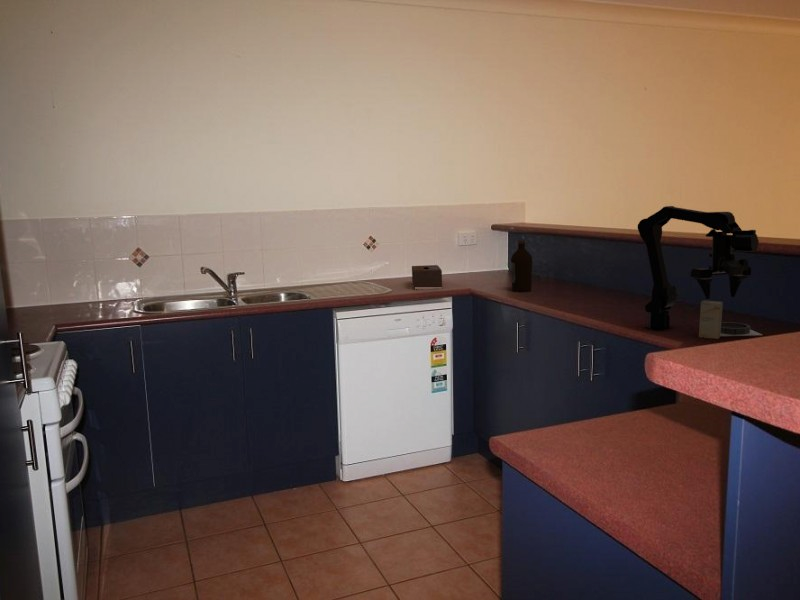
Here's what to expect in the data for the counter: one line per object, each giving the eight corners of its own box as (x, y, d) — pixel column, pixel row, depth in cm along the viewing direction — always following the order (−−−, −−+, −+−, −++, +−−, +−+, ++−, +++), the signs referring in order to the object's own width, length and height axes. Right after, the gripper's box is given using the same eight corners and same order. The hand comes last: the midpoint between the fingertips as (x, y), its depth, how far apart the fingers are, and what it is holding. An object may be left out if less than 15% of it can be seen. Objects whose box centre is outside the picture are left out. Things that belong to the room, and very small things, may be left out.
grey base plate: (720, 337, 220) (720, 336, 220) (702, 328, 234) (702, 327, 234) (763, 336, 219) (763, 334, 219) (742, 327, 233) (742, 326, 233)
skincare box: (698, 338, 220) (699, 302, 218) (700, 335, 223) (702, 300, 221) (719, 340, 216) (720, 303, 214) (721, 337, 220) (723, 301, 218)
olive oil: (531, 288, 337) (530, 239, 333) (533, 292, 327) (533, 241, 323) (510, 289, 338) (509, 240, 334) (512, 292, 327) (511, 242, 323)
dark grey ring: (723, 335, 221) (723, 329, 221) (708, 328, 232) (709, 322, 232) (755, 334, 221) (756, 328, 221) (740, 327, 232) (740, 321, 231)
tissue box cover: (442, 289, 348) (441, 270, 346) (414, 290, 347) (414, 271, 346) (437, 282, 373) (437, 265, 371) (412, 283, 373) (411, 266, 371)
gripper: (711, 254, 207) (710, 303, 209) (764, 250, 210) (762, 299, 213) (690, 251, 218) (689, 298, 220) (740, 248, 221) (739, 294, 223)
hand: (720, 297), depth 219 cm, fingers open, 9 cm apart
